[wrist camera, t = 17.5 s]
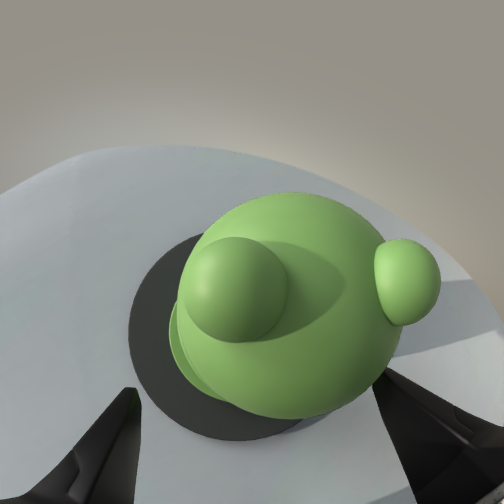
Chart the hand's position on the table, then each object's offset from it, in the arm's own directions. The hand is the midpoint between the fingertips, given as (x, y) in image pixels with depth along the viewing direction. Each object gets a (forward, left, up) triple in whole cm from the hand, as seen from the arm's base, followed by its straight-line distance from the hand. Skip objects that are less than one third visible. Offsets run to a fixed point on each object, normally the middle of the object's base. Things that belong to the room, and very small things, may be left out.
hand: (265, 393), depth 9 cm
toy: (+1, -2, -8) cm, 8 cm away
